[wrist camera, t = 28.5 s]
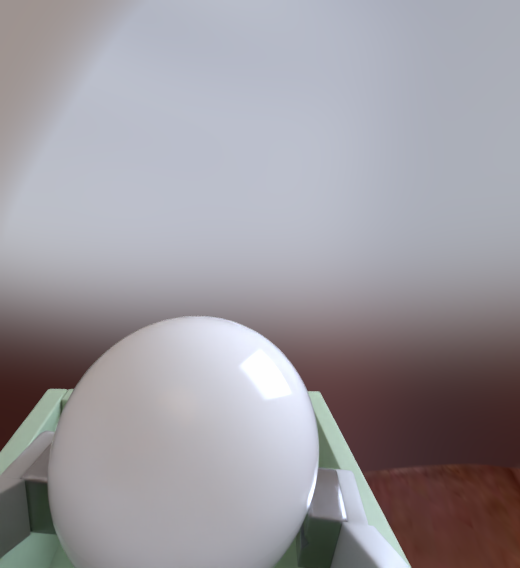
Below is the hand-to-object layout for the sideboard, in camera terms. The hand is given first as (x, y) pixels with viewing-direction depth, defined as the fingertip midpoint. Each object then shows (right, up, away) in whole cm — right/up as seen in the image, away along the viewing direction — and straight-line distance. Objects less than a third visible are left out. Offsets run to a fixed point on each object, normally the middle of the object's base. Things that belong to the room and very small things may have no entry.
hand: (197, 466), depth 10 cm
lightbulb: (-1, -6, +1) cm, 6 cm away
